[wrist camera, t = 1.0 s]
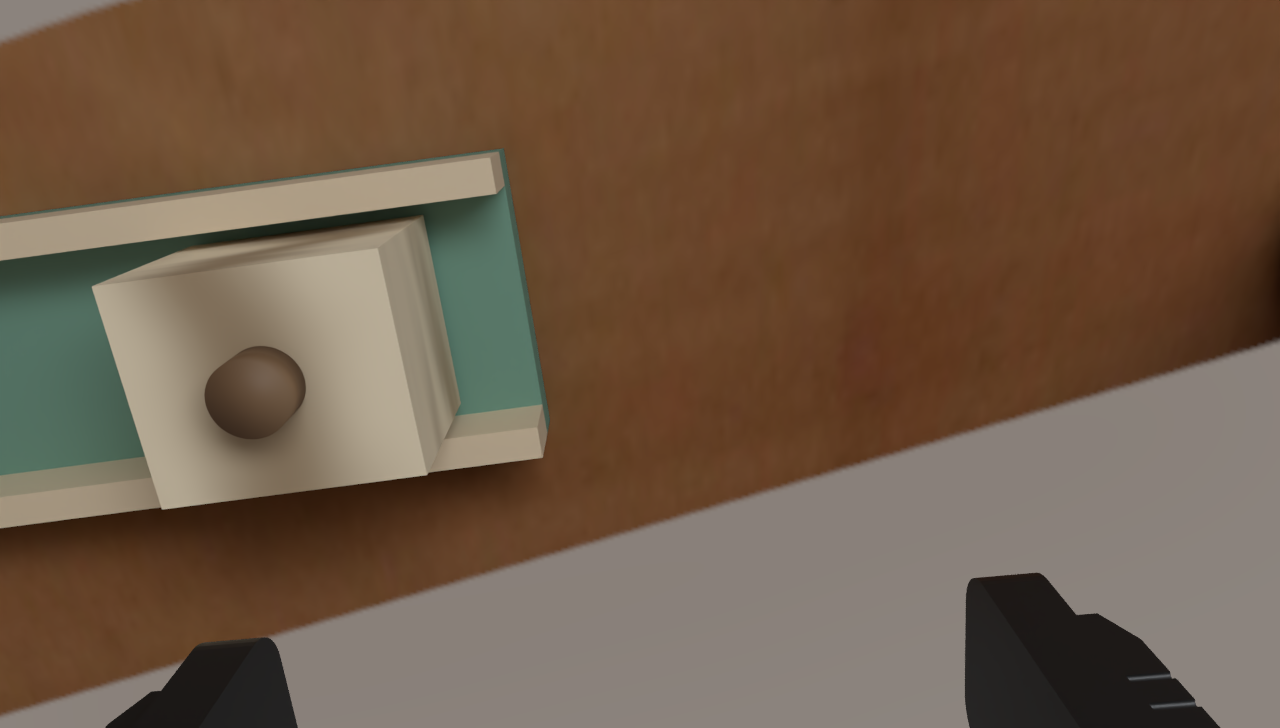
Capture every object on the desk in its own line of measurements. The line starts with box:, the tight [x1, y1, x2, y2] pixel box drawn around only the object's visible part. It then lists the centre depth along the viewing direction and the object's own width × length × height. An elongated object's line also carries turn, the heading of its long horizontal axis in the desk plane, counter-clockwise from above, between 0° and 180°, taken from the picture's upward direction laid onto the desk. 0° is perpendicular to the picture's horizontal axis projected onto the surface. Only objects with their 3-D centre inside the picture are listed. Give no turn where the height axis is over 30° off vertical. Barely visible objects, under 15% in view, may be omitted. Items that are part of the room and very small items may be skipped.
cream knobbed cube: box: [92, 215, 461, 510], centre depth 25 cm, size 7×6×7 cm
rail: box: [0, 148, 550, 528], centre depth 27 cm, size 24×9×6 cm, turn 97°
